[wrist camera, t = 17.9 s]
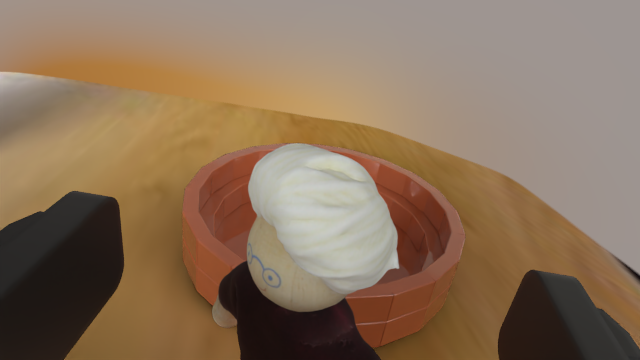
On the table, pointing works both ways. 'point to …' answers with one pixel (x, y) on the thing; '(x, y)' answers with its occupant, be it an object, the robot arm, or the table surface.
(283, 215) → the grandmother figurine
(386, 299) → the terracotta plant saucer
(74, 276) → the robot arm
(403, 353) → the table surface
